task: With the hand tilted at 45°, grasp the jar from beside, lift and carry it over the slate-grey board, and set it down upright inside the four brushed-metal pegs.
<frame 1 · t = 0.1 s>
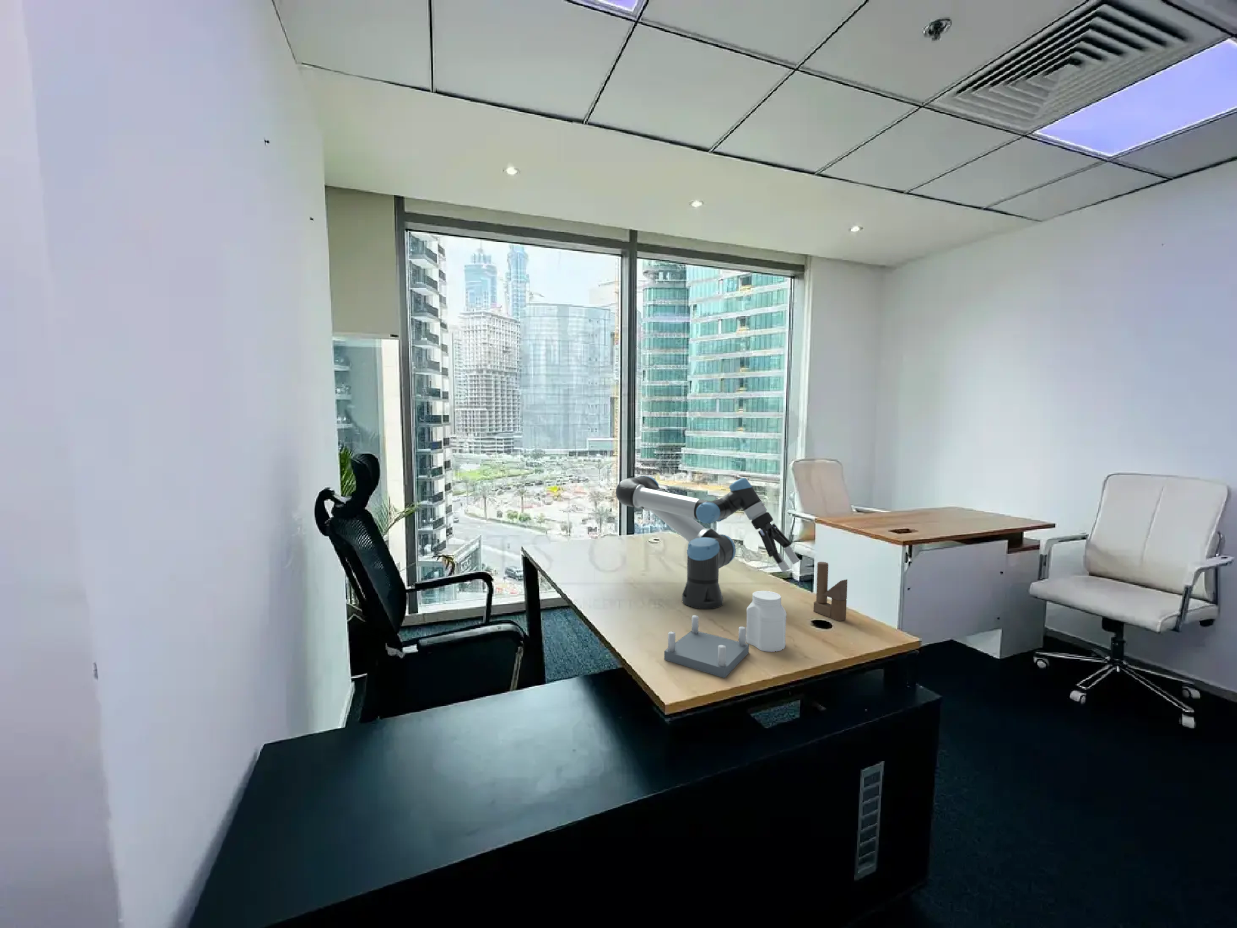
hand: (791, 566, 178), 15 cm above the table, tool tilted 35°, fingers open, 13 cm apart
wooden block: (829, 616, 171), on the table
peg board: (707, 655, 140), on the table
jar: (765, 644, 149), on the table
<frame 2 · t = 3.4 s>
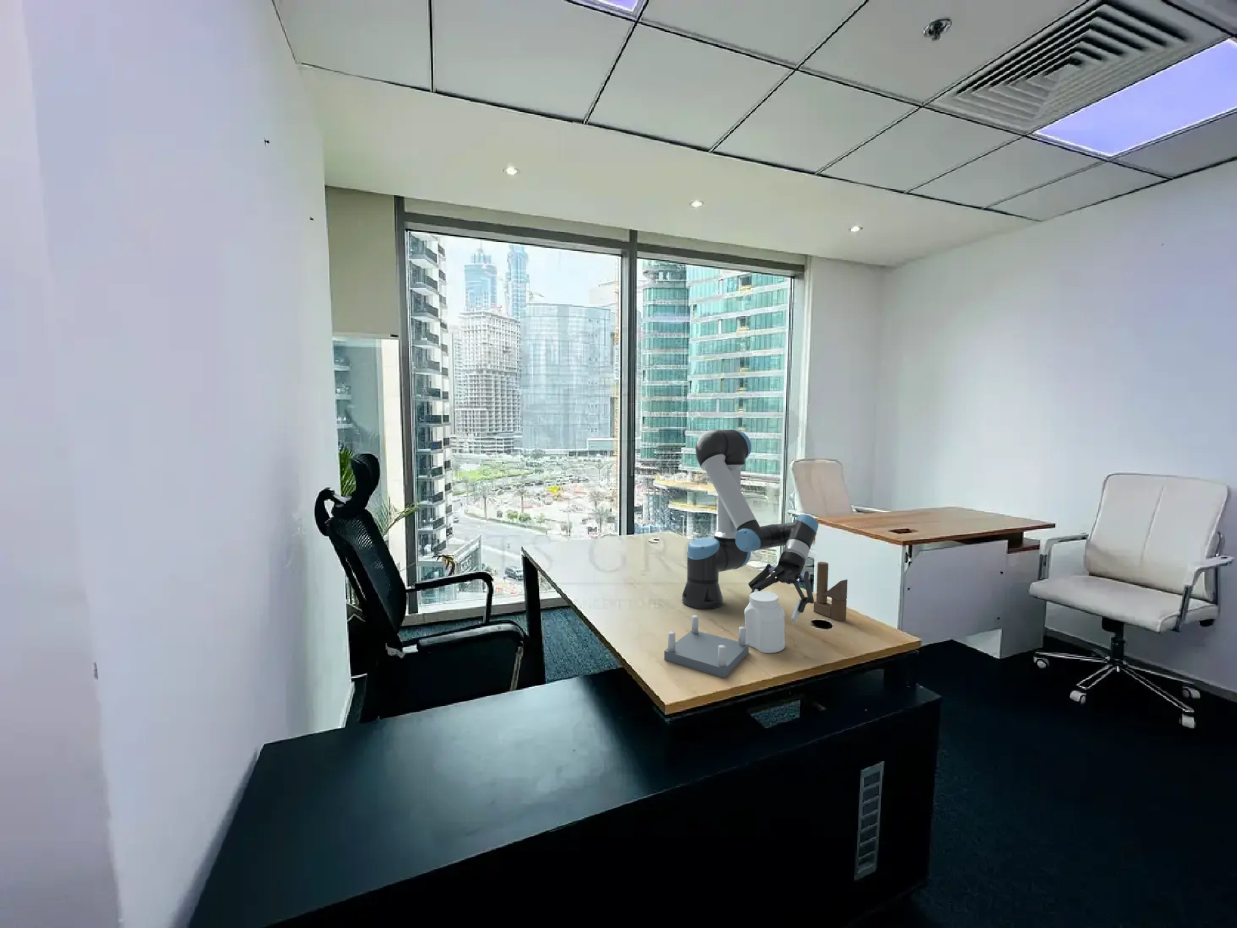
hand: (770, 615, 147), 9 cm above the table, tool tilted 45°, fingers open, 13 cm apart
jar: (765, 644, 148), on the table, touching gripper
everything else where it was.
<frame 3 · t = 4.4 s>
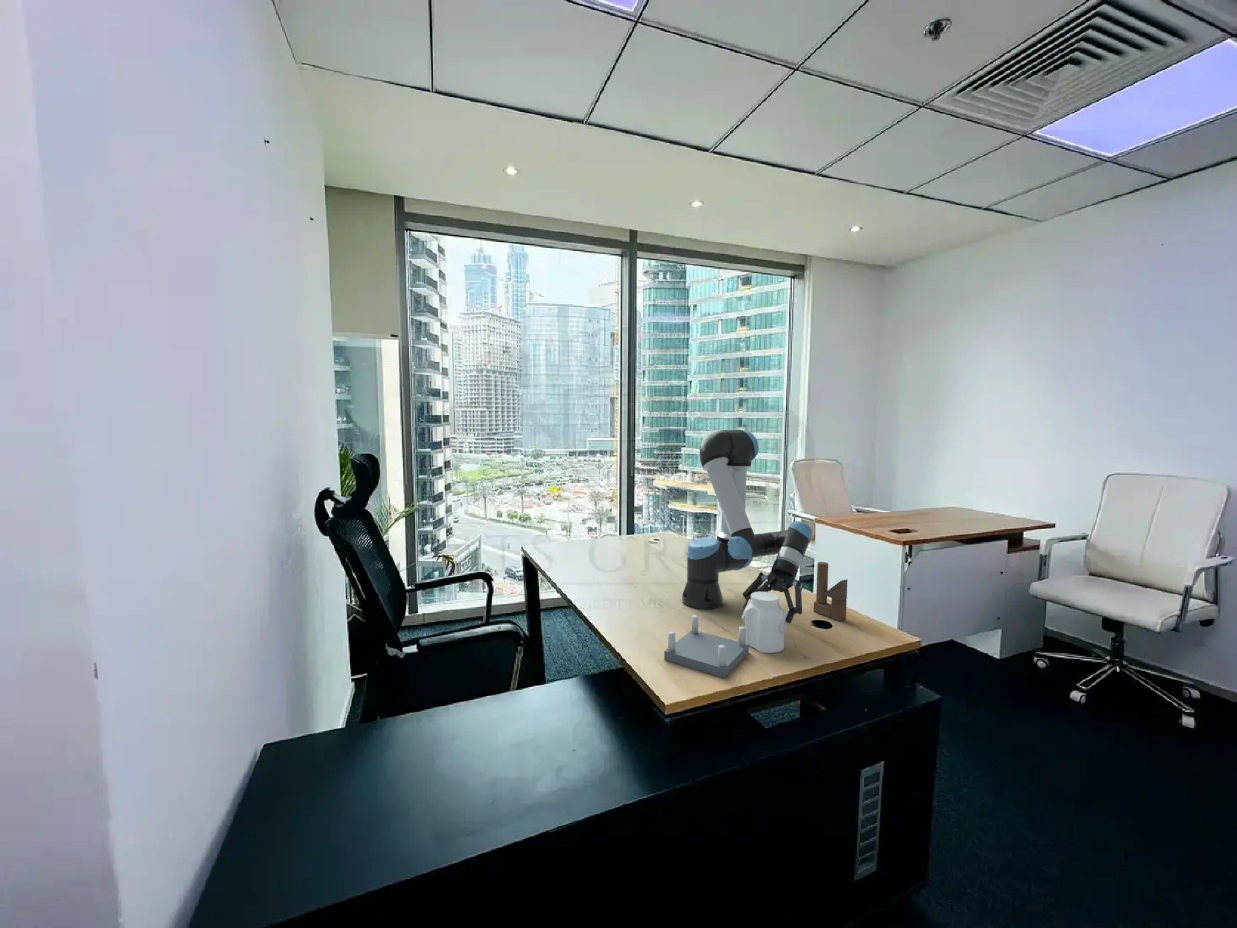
hand: (761, 625, 146), 6 cm above the table, tool tilted 45°, fingers closed on jar, 11 cm apart
jar: (764, 645, 148), on the table, touching gripper
everything else where it was.
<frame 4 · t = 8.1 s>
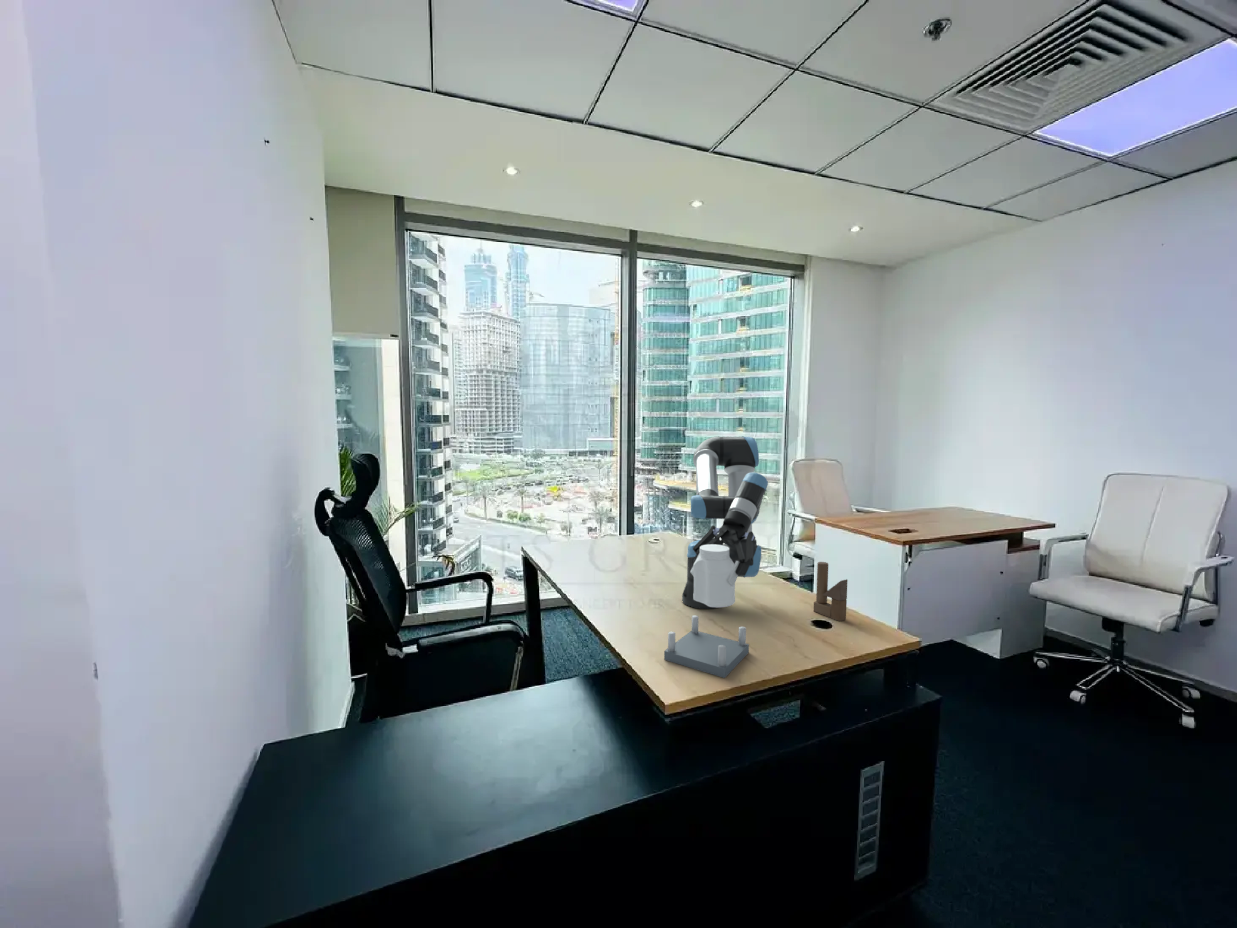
hand: (711, 579, 136), 23 cm above the table, tool tilted 45°, fingers closed on jar, 11 cm apart
jar: (713, 600, 138), point 16 cm above the table, touching gripper
everything else where it was.
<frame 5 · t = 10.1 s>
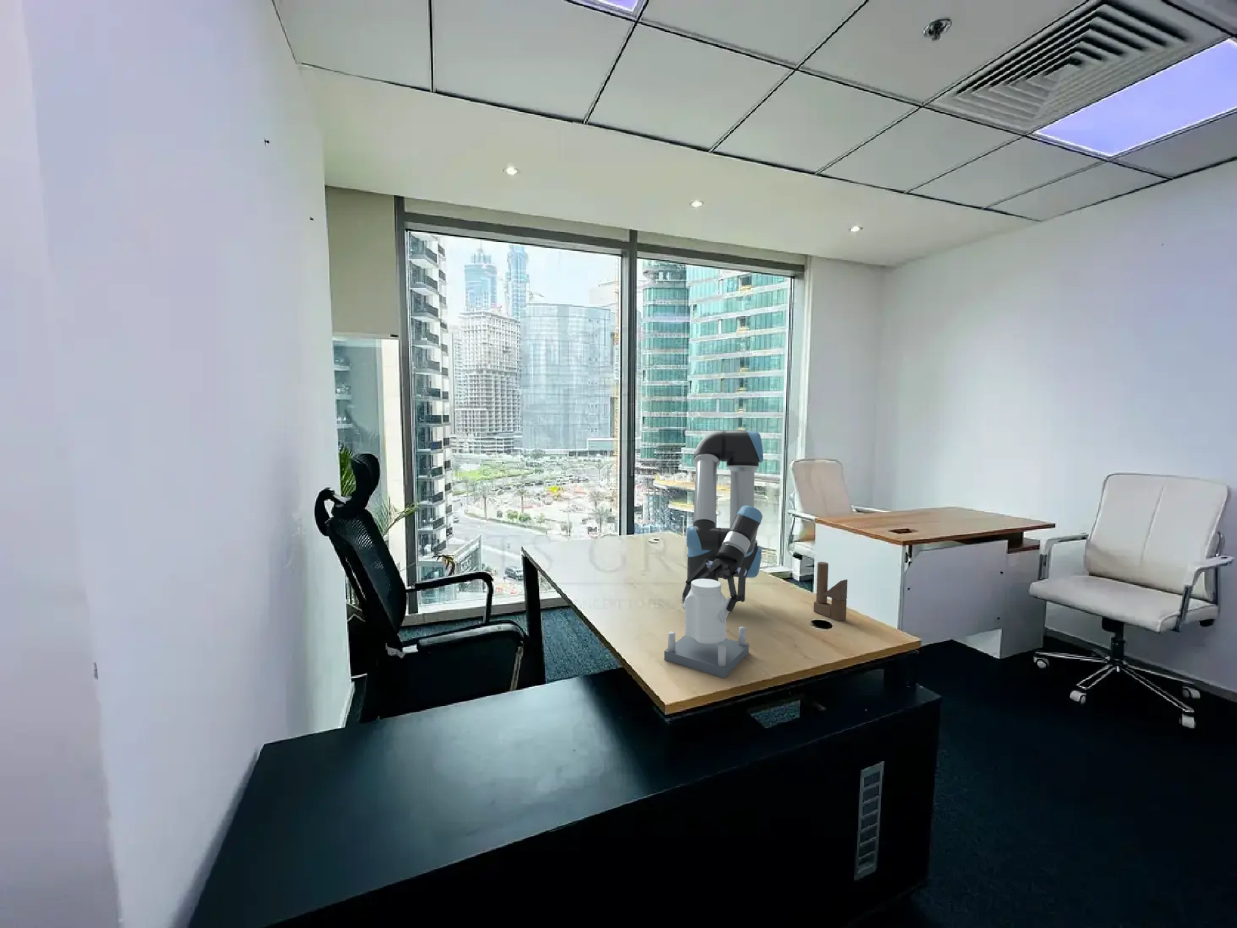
hand: (702, 614, 137), 13 cm above the table, tool tilted 45°, fingers closed on jar, 11 cm apart
jar: (705, 635, 138), point 7 cm above the table, touching gripper
everything else where it was.
when the fingers open (10 cm above the table, at t = 11.8 s): jar drops 1 cm, resting on peg board.
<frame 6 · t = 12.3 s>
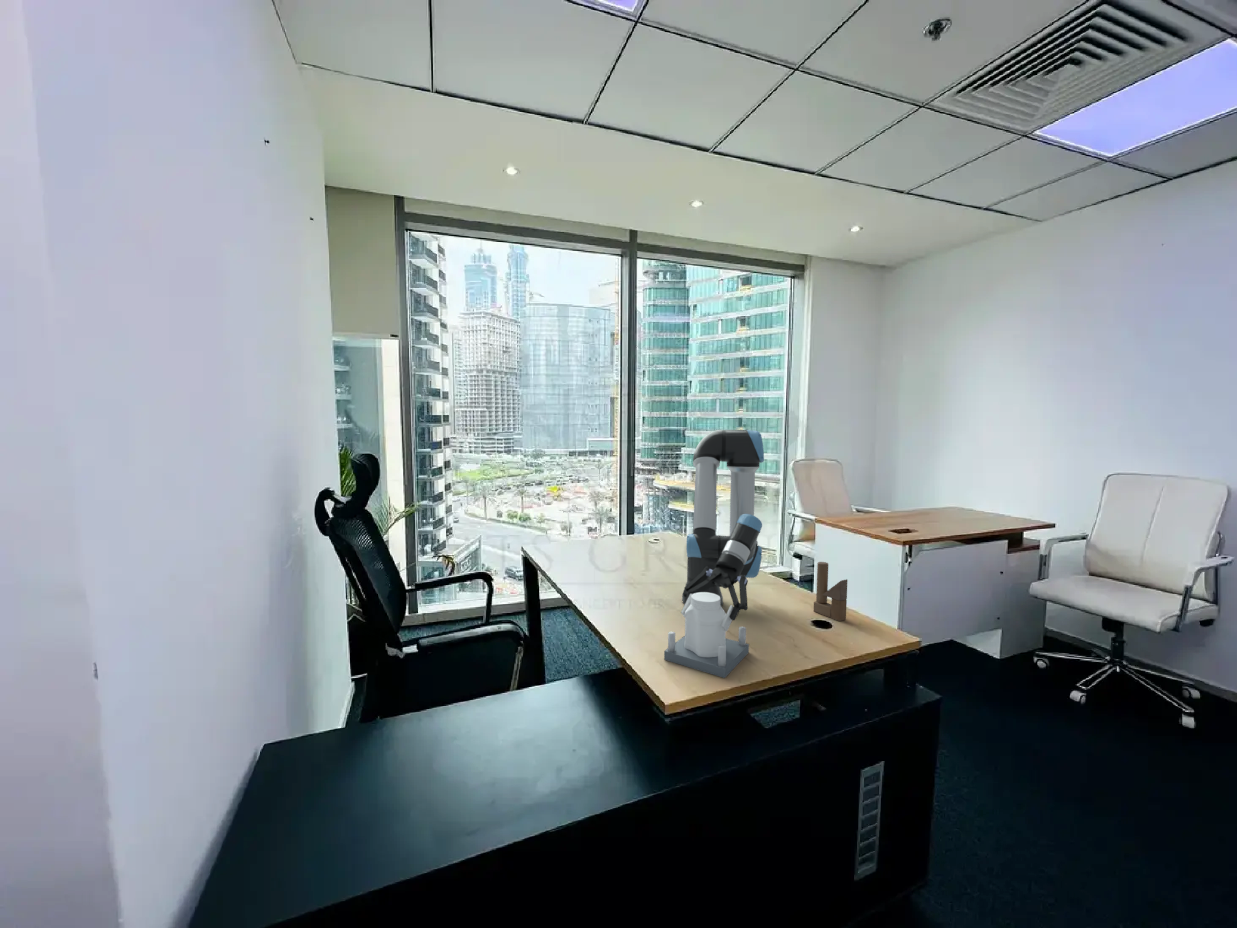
hand: (703, 621, 138), 11 cm above the table, tool tilted 45°, fingers open, 13 cm apart
jar: (704, 649, 139), point 2 cm above the table, touching peg board
everything else where it was.
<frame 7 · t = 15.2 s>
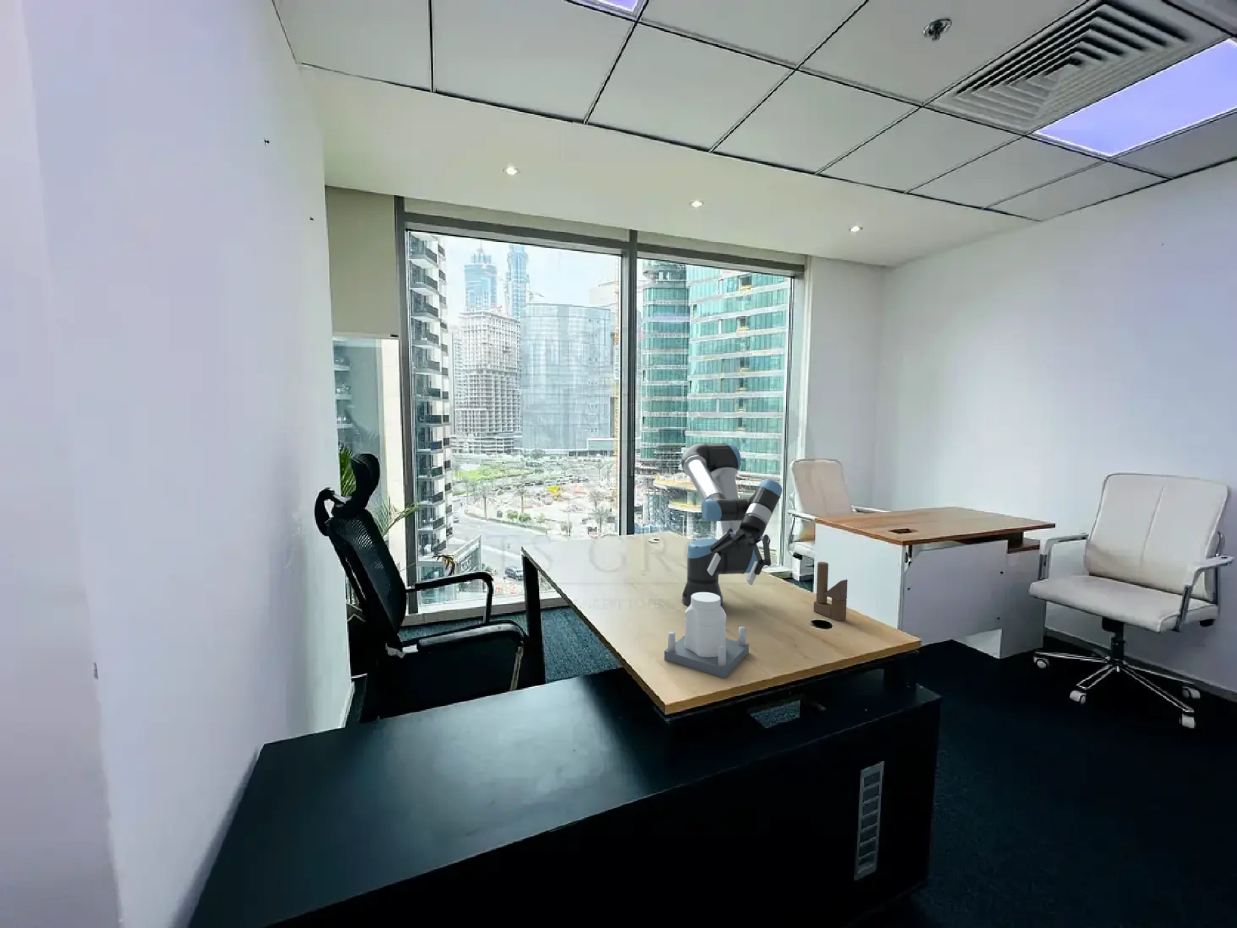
hand: (728, 577, 146), 21 cm above the table, tool tilted 45°, fingers open, 13 cm apart
nothing on the table moved.
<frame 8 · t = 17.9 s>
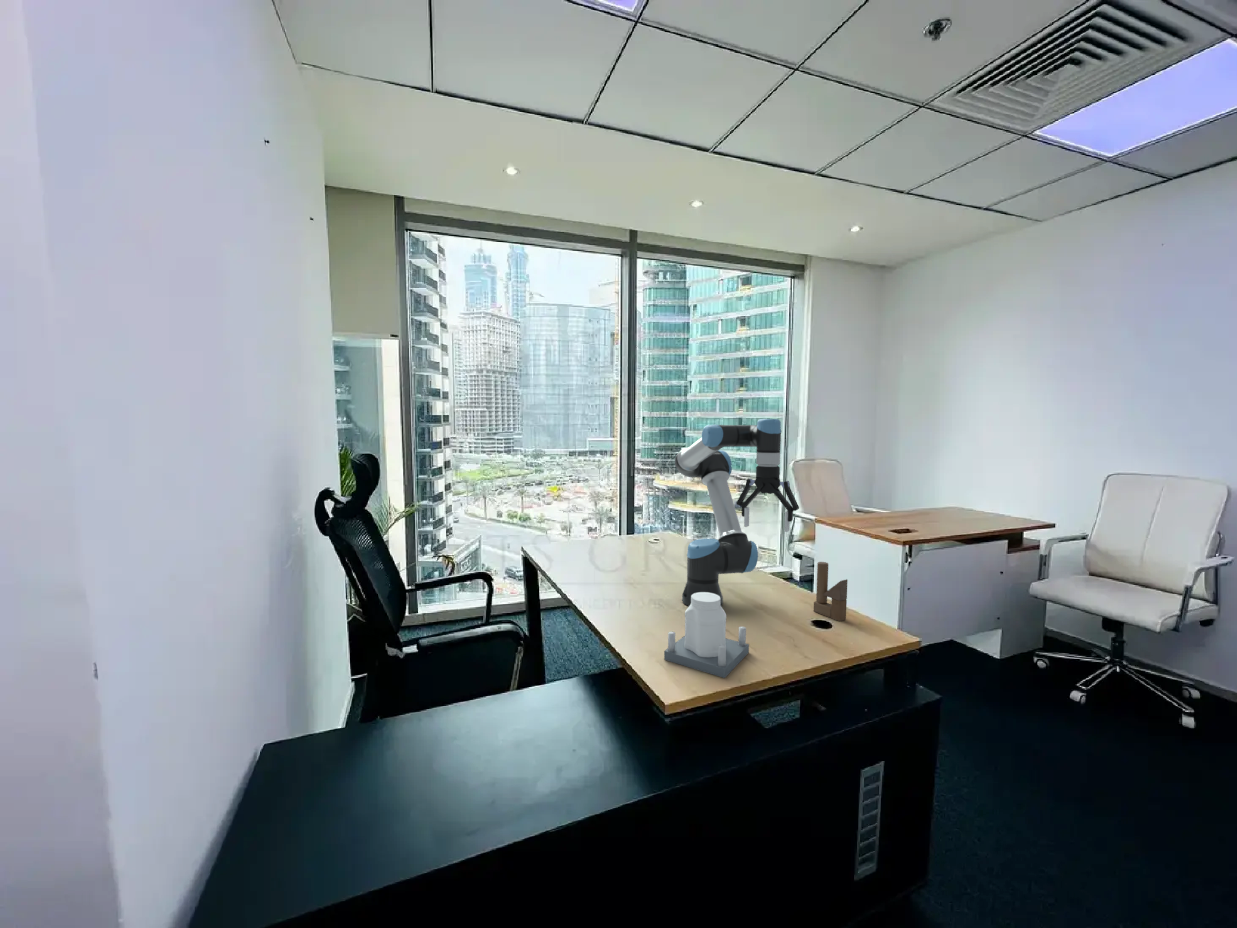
hand: (766, 528, 164), 32 cm above the table, tool pointing down, fingers open, 13 cm apart
nothing on the table moved.
at the end: jar inside the target area on the peg board (1.0 cm from its centre), point 2.3 cm above the peg board's base; jar tilted 0°; the gripper is holding nothing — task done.
